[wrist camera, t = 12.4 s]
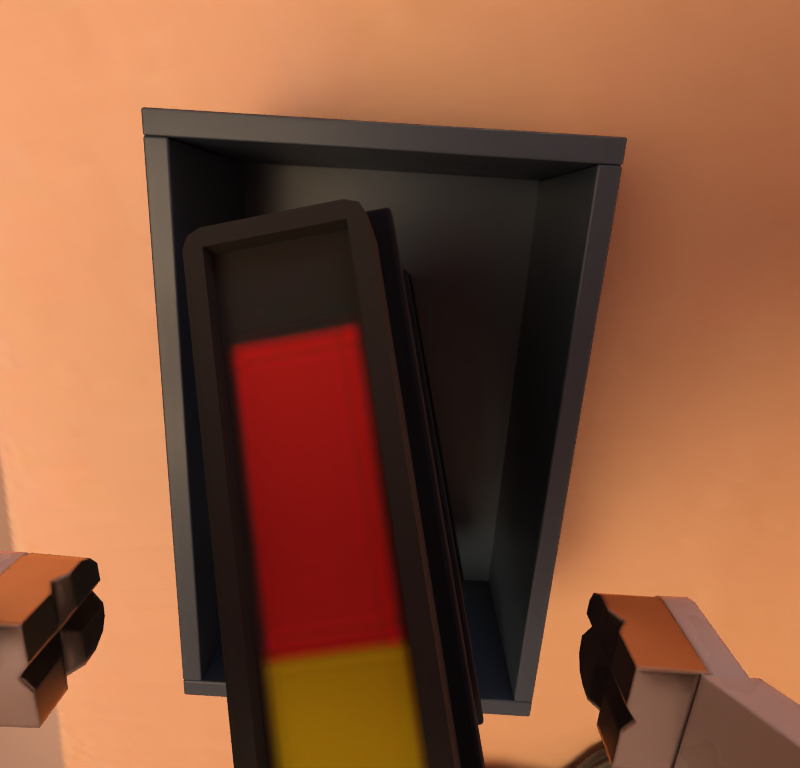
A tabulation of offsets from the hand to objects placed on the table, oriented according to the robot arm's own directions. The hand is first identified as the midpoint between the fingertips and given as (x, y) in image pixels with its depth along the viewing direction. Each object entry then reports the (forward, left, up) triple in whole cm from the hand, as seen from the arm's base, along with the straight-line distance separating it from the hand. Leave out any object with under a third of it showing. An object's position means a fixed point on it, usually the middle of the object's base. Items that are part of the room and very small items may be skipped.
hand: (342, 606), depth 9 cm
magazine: (0, 0, -12) cm, 12 cm away
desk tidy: (0, 0, -13) cm, 13 cm away
